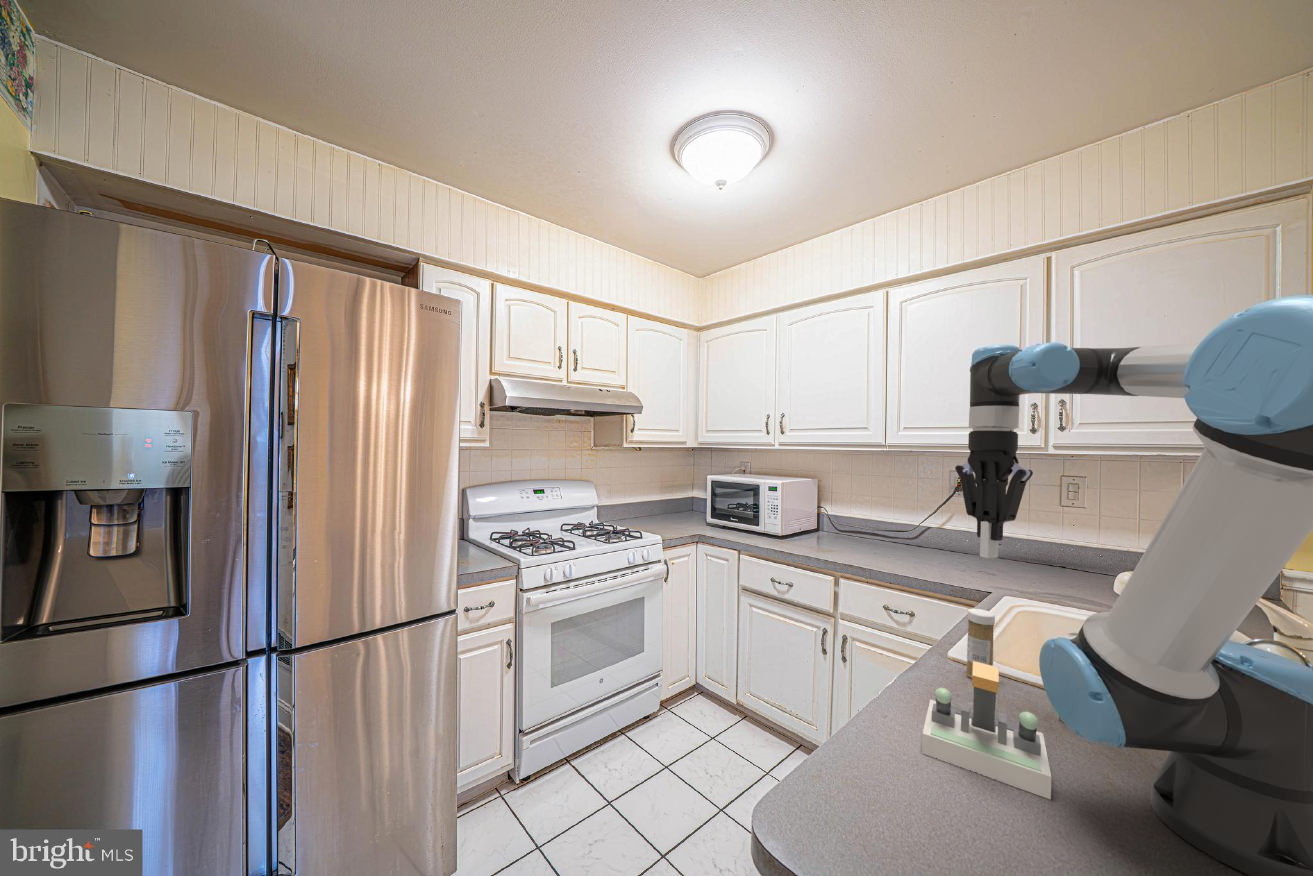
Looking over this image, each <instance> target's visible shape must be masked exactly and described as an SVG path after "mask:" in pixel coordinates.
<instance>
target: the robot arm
mask: <svg viewBox="0 0 1313 876" xmlns="http://www.w3.org/2000/svg"><path fill="white" fill-rule="evenodd" d="M970 364H971V365H970V367H969V372H970V375H969V376H970V378H969V384H970V385H969V387H970V388H969V410H968V411H969V413H968V414H969V415H968V427H969V428H970V429H972V431H969V433H968V445H967V448H968V450H969V455H968V457H967V462H965V463H963V464H961V465H959V464H958V465H956V466H955V467H954V468H955V469H954V470H955V471H956V473H957V475H958V477H959V479H960V486H961V490H962V496H963V501H964V502H963V503H964V506H965V511H966V514H967V515H968V516H971V517H973V518H975V519H976V522H977V524H976V536H977V537H978V538H980V539H979V540H980V542H979V557H982V558H985V559H994V558H999V541H1001V542H1002V540H1003V537H1004V535H1003V534H1004V524H1005V523H1006V522H1007V523H1008V522H1014V521H1015V520H1016V518H1017V516H1018V513H1019V512H1018V511H1019V509H1020V505H1021V502H1022V500H1023V499H1022V498H1023V495H1024V491H1025V488H1026V485H1027V482H1029V480H1030V479H1031V477H1032V476H1033V474H1034V472H1033V470H1031V469H1026V468H1025V467H1023V466H1022V465H1020V464H1019V459H1018V457H1017V451H1018V449H1019V433H1017V431H1015V430H1017V429H1018V428H1019V413H1020V395H1027V394H1029V395H1030V394H1049V395H1050V394H1051V395H1052V394H1060V395H1062V394H1063V395H1064V394H1065V395H1098V396H1099V395H1102V396H1123V397H1126V396H1128V397H1149V398H1151V397H1152V398H1171V399H1172V398H1173V399H1184V400H1185V403H1186V406H1187V407H1188V410H1189V411H1190V412H1191V413H1192V414H1193V415H1194V416H1195V417H1196V420H1195V421H1194V422H1193V426H1192V431H1193V432H1194V433H1195V435H1196V436H1197V438H1198V439H1199V440H1200V442H1201V443H1202V444H1203V446H1204V448H1203V450H1202V452H1201V454H1200V456H1199V458H1197V461H1196V462H1195V464H1194V466H1193V468H1192V470H1191V471H1190V473H1189V475H1188V476H1187V479H1185V482H1184V483H1183V485H1182V487H1181V488H1180V490H1179V492H1178V494H1177V495H1176V497H1175V499H1174V500H1173V503H1171V506H1170V508H1168V509H1169V510H1168V511H1167V513H1166V515H1164V517H1163V520H1162V521H1161V523H1160V525H1159V526H1158V528H1157V530H1156V531H1155V534H1154V535H1153V537H1152V539H1151V541H1150V542H1149V543H1148V545H1147V547H1146V549H1145V550H1144V552H1143V554H1142V556H1141V557H1140V559H1139V561H1138V563H1137V565H1136V566H1135V568H1134V570H1133V571H1132V572H1131V575H1130V577H1129V578H1128V580H1127V582H1126V584H1125V585H1124V587H1123V589H1122V591H1121V592H1120V594H1119V595H1118V597H1117V599H1116V601H1115V602H1114V604H1113V606H1112V607H1111V609H1110V611H1101V612H1096V613H1093V614H1091V615H1089V616H1087V618H1086V619H1085V620H1084V622H1083V624H1082V625H1081V627H1080V629H1079V631H1078V632H1077V633H1078V634H1077V636H1076V637H1075V638H1073V639H1066V638H1064V637H1063V636H1060V637H1059V636H1058V637H1057V638H1056V637H1055V638H1049V639H1048V640H1046V641H1045V642H1044V643H1043V644H1042V646H1041V648H1040V651H1039V658H1038V659H1039V660H1038V662H1039V663H1038V664H1039V673H1040V677H1041V680H1042V684H1043V688H1044V691H1045V693H1046V696H1047V698H1048V701H1049V702H1050V705H1052V708H1053V709H1054V711H1055V712H1056V714H1057V715H1058V718H1059V717H1060V718H1061V719H1062V722H1063V723H1064V724H1065V725H1066V726H1067V728H1069V729H1070V730H1071V732H1072V733H1075V734H1076V735H1077V736H1079V737H1080V738H1083V739H1084V740H1086V741H1088V742H1091V743H1096V744H1103V745H1108V746H1109V745H1110V746H1111V747H1113V748H1131V749H1141V750H1142V749H1143V750H1153V751H1165V752H1169V754H1168V755H1167V756H1168V757H1167V758H1166V760H1165V761H1164V762H1163V765H1162V766H1161V768H1160V770H1159V771H1158V772H1157V774H1156V776H1155V778H1154V779H1153V782H1152V784H1151V791H1150V793H1151V794H1150V804H1151V807H1152V810H1153V811H1154V814H1156V816H1157V817H1158V818H1159V819H1160V820H1161V821H1162V823H1164V825H1166V826H1167V827H1168V828H1169V829H1170V830H1171V831H1173V832H1174V833H1175V834H1177V835H1178V836H1179V837H1181V838H1182V839H1183V840H1185V841H1187V842H1188V843H1189V844H1191V846H1194V847H1195V848H1196V849H1197V850H1198V849H1199V850H1200V851H1201V852H1203V853H1205V854H1207V855H1209V856H1210V857H1212V858H1214V859H1215V860H1217V861H1219V862H1221V863H1223V864H1224V865H1227V866H1229V867H1231V868H1233V869H1235V870H1237V871H1239V872H1241V873H1244V874H1245V875H1248V876H1313V669H1312V668H1311V667H1309V666H1306V665H1304V664H1303V663H1301V662H1299V661H1295V660H1294V659H1293V660H1292V659H1290V658H1288V657H1285V656H1282V655H1279V654H1276V653H1274V652H1271V651H1268V650H1264V649H1262V648H1258V647H1255V646H1252V645H1249V644H1248V645H1247V644H1245V643H1242V642H1238V641H1235V640H1230V639H1231V637H1232V636H1233V634H1234V633H1235V632H1236V631H1237V629H1238V628H1239V627H1240V626H1241V624H1242V623H1243V621H1244V620H1245V619H1246V618H1247V616H1248V615H1249V614H1250V612H1251V611H1252V610H1253V608H1254V607H1255V606H1256V604H1257V603H1258V602H1259V600H1260V599H1261V598H1262V597H1263V595H1264V594H1265V592H1267V590H1268V589H1269V588H1270V586H1271V585H1272V584H1273V582H1274V581H1275V580H1276V578H1277V577H1278V576H1279V575H1280V573H1281V572H1282V571H1283V569H1284V568H1285V567H1286V565H1287V564H1288V563H1289V562H1290V560H1291V559H1292V558H1293V556H1294V555H1295V554H1296V552H1297V551H1298V550H1299V548H1300V547H1301V546H1302V545H1303V543H1304V542H1305V541H1306V539H1307V538H1308V537H1309V535H1310V534H1311V533H1312V531H1313V294H1299V295H1289V296H1281V297H1277V298H1273V299H1270V300H1266V301H1263V302H1261V303H1257V304H1255V305H1253V306H1251V307H1249V308H1247V309H1245V310H1242V311H1240V312H1237V313H1236V314H1233V315H1231V316H1230V317H1228V318H1226V319H1225V320H1223V321H1222V322H1221V323H1219V324H1218V325H1217V326H1216V327H1215V328H1213V329H1211V331H1209V333H1207V334H1206V336H1205V337H1203V339H1202V340H1201V341H1200V342H1195V343H1183V344H1182V343H1180V344H1169V345H1167V344H1165V345H1154V346H1153V345H1152V346H1135V347H1134V346H1133V347H1132V346H1131V347H1118V348H1116V347H1108V348H1107V347H1106V348H1105V347H1103V348H1102V347H1101V348H1099V347H1098V348H1097V347H1096V348H1093V347H1092V348H1090V347H1069V346H1068V345H1065V344H1063V343H1062V342H1061V343H1060V342H1057V341H1054V342H1053V341H1051V342H1046V343H1035V344H1032V345H1030V346H1027V347H1025V348H1022V349H1020V347H1019V346H1018V345H1012V344H996V345H994V344H993V345H987V346H982V347H978V348H976V349H975V350H974V351H973V353H972V354H971V363H970ZM1010 476H1012V477H1011V479H1010V481H1009V477H1010ZM1007 486H1008V487H1007Z"/></svg>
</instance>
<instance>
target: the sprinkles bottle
mask: <svg viewBox="0 0 1313 876" xmlns="http://www.w3.org/2000/svg"><path fill="white" fill-rule="evenodd" d="M995 615H996V614H994V613H993V612H991V611H990V610H989V611H988V610H985V609H979V608H969V609H968V610H967V619H968V620H967V622H968V623H967V624H968V625H967V626H968V627H967V648H966V651H967V652H966V659H967V661H966V662H967V663H966V665H967V666H966V671H965V672H966V673H965V675H966V676H967V677H969V678H970V679H972V673H973V661H975V662H979V663H983V664H987V665H991V666H994V626H995V624H996V616H995Z"/></svg>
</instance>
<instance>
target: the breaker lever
mask: <svg viewBox="0 0 1313 876" xmlns="http://www.w3.org/2000/svg"><path fill="white" fill-rule="evenodd" d="M999 669H1000V667H998V666H995V665H993V666H991V665H987V664H983V663H979V662H975V661H973V673H972V680H971V682H972V683H971V684H972V685H971V686H972V687H973V701H972V702H973V704H972V708H973V709H972V710H973V711H972V712H973V714H972V721H971V725H972V726H974V727H977V728H980V729H983V730H987V731H990V732H993V733H995V732H996V721H995V719H996V703H997V701H996V700H997V694H998V693H999V681H1000V679H999V676H1000V675H999V673H1000V672H999V671H1000V670H999Z"/></svg>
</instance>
